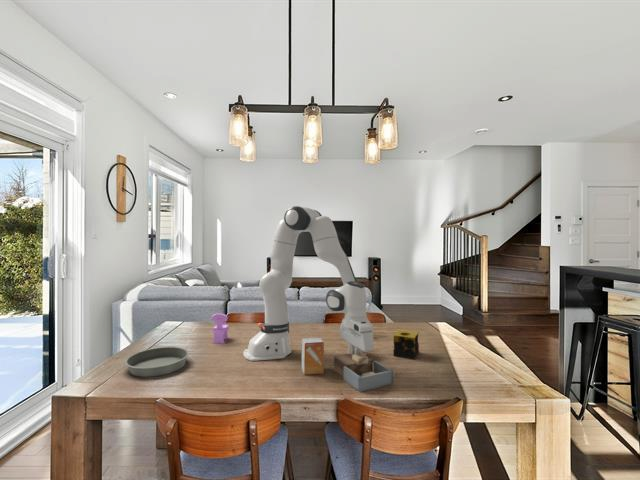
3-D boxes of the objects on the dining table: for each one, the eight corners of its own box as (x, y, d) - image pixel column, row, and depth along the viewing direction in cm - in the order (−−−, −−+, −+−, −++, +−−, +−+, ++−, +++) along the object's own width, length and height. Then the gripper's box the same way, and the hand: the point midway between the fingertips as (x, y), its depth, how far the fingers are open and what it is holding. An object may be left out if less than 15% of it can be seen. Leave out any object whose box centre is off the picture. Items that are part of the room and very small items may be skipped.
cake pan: (128, 360, 151) (128, 350, 151) (187, 353, 161) (187, 343, 161) (120, 383, 129) (120, 371, 129) (190, 373, 139) (190, 362, 138)
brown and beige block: (346, 378, 133) (346, 364, 133) (334, 369, 142) (334, 356, 142) (372, 373, 138) (372, 360, 138) (358, 364, 148) (358, 351, 147)
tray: (359, 392, 122) (359, 378, 122) (343, 379, 132) (343, 366, 132) (393, 384, 128) (393, 371, 128) (375, 372, 139) (375, 360, 139)
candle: (419, 352, 163) (419, 332, 163) (415, 360, 154) (415, 337, 153) (397, 349, 167) (397, 329, 167) (392, 356, 158) (393, 335, 158)
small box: (304, 375, 136) (304, 342, 136) (301, 369, 142) (301, 338, 142) (323, 373, 138) (324, 341, 138) (320, 367, 144) (320, 336, 144)
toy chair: (230, 338, 184) (230, 310, 184) (226, 343, 175) (226, 314, 175) (214, 338, 184) (214, 310, 184) (210, 343, 175) (210, 314, 175)
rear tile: (358, 365, 133) (358, 358, 133) (352, 361, 137) (352, 355, 137) (367, 363, 135) (367, 356, 135) (361, 359, 139) (361, 353, 139)
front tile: (362, 373, 130) (362, 380, 130) (369, 378, 126) (369, 384, 126) (371, 371, 132) (371, 378, 132) (378, 375, 128) (378, 382, 128)
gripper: (336, 317, 147) (336, 349, 147) (362, 329, 128) (362, 365, 129) (348, 315, 150) (348, 347, 150) (376, 327, 131) (376, 362, 131)
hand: (355, 355), depth 139 cm, fingers closed
